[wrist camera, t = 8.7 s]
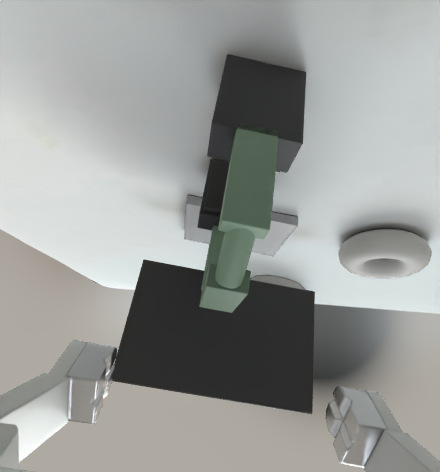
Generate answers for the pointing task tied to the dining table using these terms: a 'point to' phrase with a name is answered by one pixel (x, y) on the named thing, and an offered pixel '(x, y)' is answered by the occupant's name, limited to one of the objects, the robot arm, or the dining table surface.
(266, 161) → the headphones
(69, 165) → the dining table surface
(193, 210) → the monitor
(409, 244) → the donut
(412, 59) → the dining table surface
